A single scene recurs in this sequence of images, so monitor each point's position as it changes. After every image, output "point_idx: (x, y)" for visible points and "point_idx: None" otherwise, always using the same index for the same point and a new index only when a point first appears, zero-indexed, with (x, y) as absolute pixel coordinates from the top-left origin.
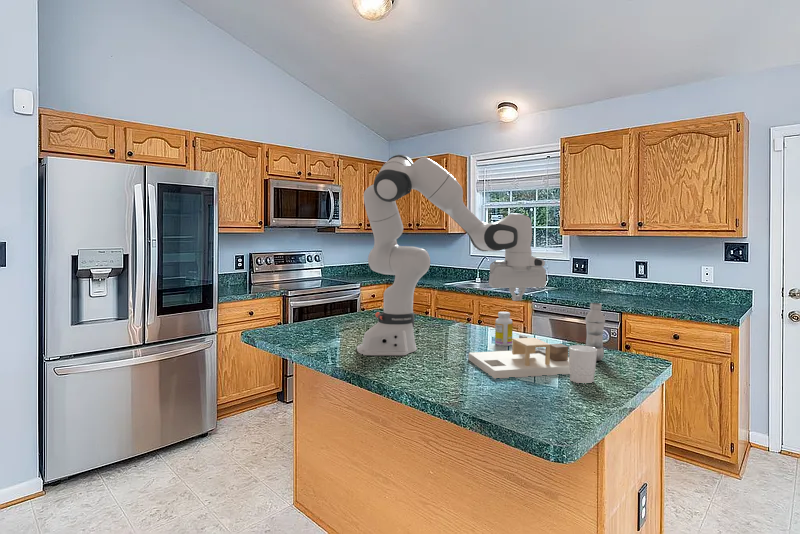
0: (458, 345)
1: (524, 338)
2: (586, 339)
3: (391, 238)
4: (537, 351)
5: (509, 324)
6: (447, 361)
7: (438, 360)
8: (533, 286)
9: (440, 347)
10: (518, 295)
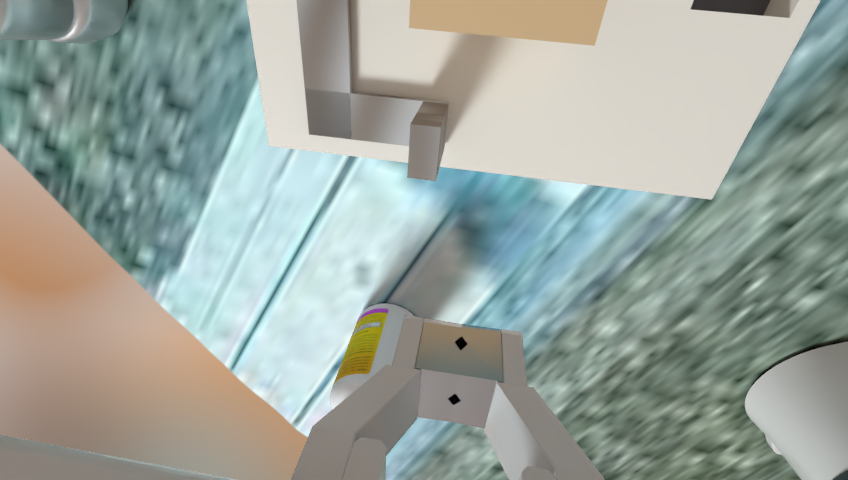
0: (562, 364)
1: (503, 16)
2: (31, 11)
3: None
4: (362, 93)
5: (359, 372)
6: (813, 191)
7: (836, 218)
8: (81, 471)
9: (649, 364)
10: (433, 393)
